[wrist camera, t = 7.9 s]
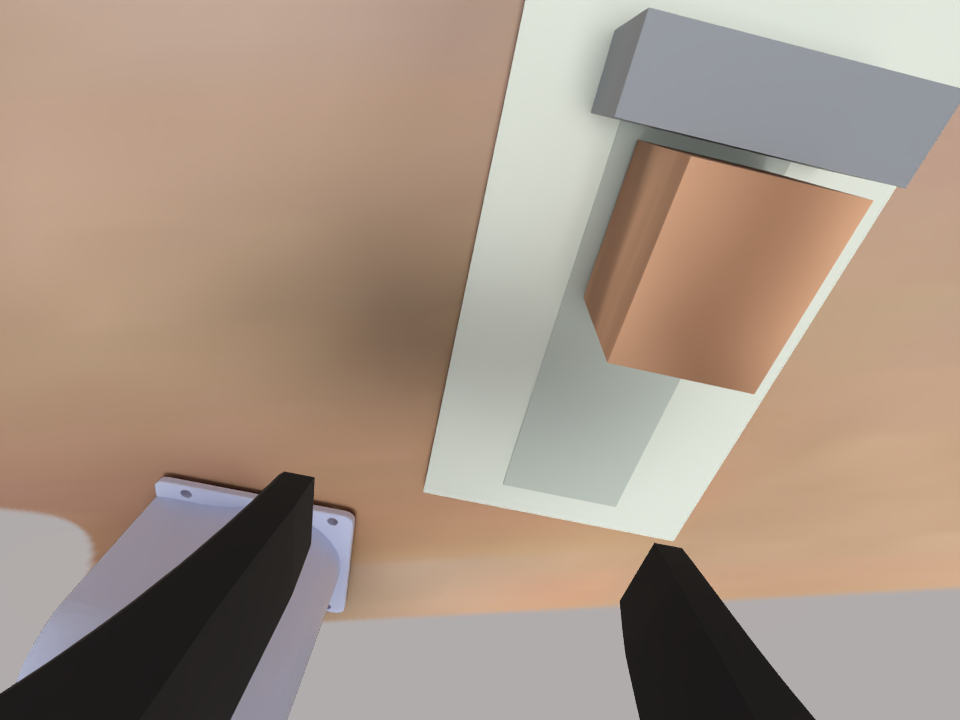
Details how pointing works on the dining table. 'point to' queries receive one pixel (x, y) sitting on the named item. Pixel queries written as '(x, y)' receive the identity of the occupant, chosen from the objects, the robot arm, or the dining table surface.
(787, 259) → the block
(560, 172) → the board
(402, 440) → the dining table surface
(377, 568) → the dining table surface
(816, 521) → the dining table surface
